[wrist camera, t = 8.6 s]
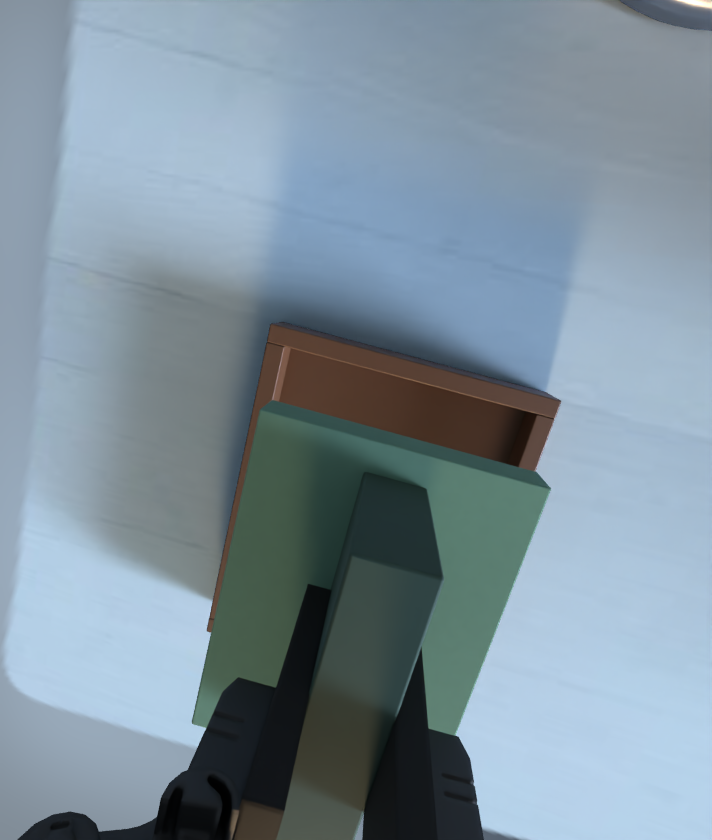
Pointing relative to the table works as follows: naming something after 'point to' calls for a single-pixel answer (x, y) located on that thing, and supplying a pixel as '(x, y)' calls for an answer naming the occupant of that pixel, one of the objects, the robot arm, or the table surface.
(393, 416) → the back frame
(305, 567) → the back pad
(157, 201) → the table surface
